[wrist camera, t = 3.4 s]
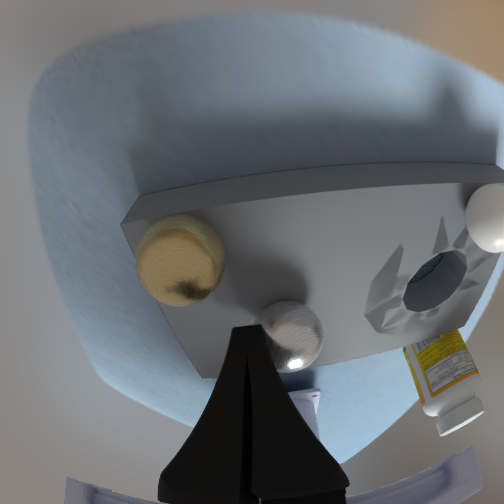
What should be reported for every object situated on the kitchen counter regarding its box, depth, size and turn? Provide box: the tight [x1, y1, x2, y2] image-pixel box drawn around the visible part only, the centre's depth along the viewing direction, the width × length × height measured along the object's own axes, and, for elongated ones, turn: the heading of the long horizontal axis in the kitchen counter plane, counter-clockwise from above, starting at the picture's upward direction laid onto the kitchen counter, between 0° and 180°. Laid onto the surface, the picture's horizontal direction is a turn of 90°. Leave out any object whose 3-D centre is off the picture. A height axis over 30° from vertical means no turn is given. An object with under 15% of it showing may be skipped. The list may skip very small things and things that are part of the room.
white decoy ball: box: [466, 184, 504, 253], centre depth 8 cm, size 3×3×3 cm
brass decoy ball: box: [135, 215, 225, 307], centre depth 9 cm, size 3×3×3 cm
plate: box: [120, 162, 504, 378], centre depth 14 cm, size 12×20×2 cm, turn 98°
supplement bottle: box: [402, 329, 484, 436], centre depth 16 cm, size 5×5×10 cm
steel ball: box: [253, 301, 324, 373], centre depth 11 cm, size 3×3×3 cm
